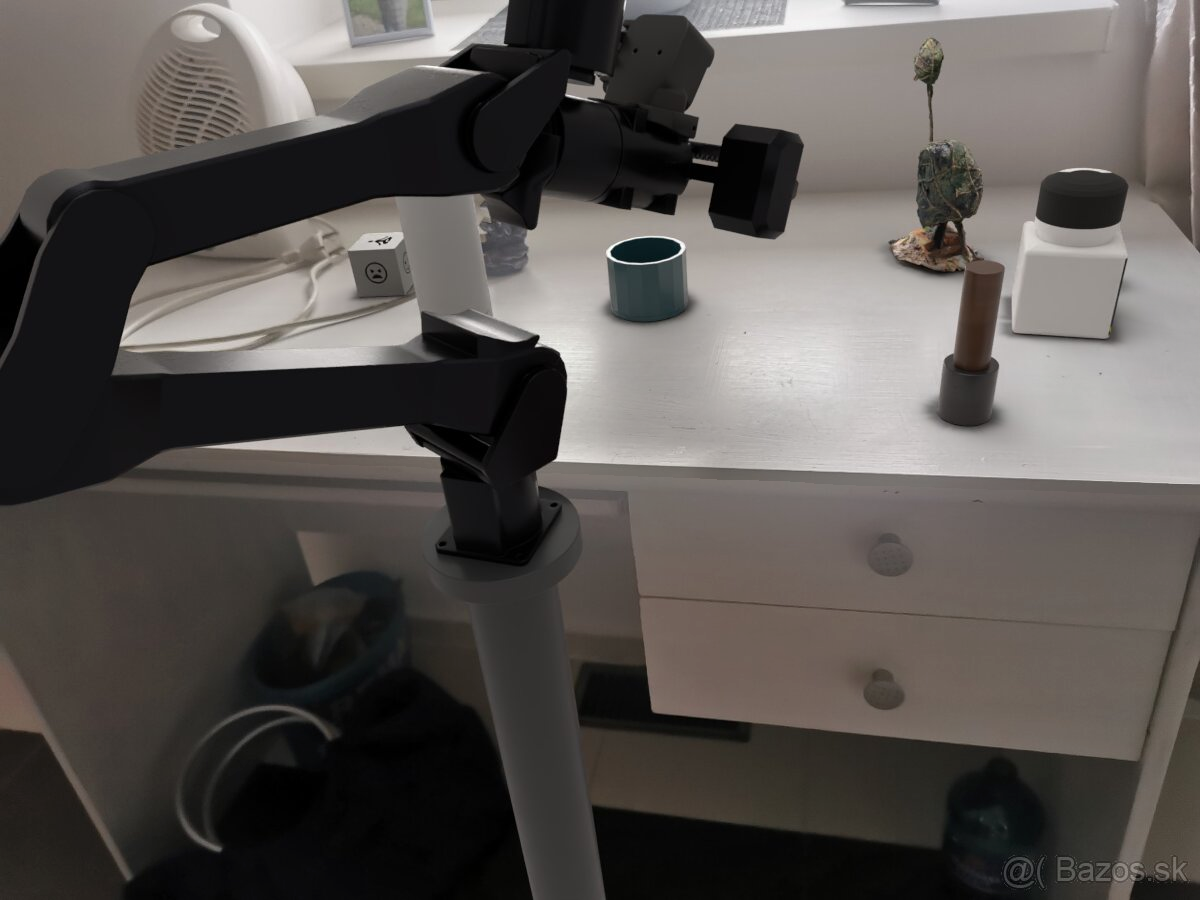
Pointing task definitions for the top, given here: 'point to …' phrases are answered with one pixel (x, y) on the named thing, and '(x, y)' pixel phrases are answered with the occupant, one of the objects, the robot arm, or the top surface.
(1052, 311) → the medicine bottle
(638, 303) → the beaker
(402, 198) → the travel mug
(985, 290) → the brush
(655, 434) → the top surface
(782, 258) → the top surface
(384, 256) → the dice cube
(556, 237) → the top surface
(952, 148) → the plant with pod
